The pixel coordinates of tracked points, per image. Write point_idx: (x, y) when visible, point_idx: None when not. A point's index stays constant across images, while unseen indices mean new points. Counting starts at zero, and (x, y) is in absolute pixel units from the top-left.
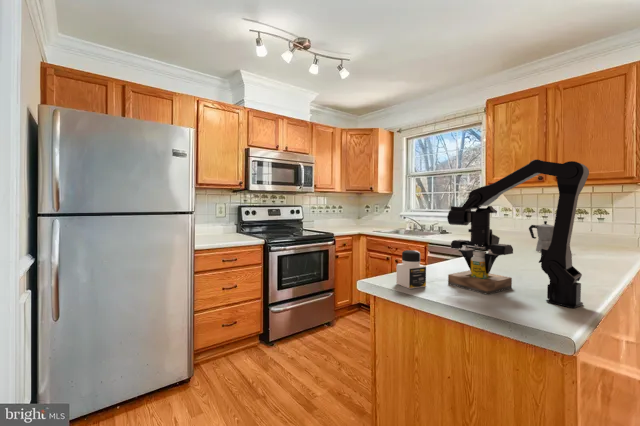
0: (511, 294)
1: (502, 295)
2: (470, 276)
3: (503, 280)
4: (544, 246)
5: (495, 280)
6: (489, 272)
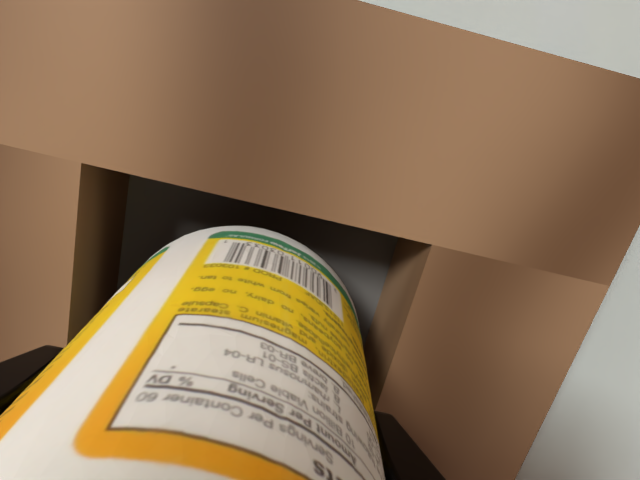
0: (594, 372)
1: None
2: (89, 294)
3: (572, 344)
4: None
5: (487, 462)
6: (397, 422)
